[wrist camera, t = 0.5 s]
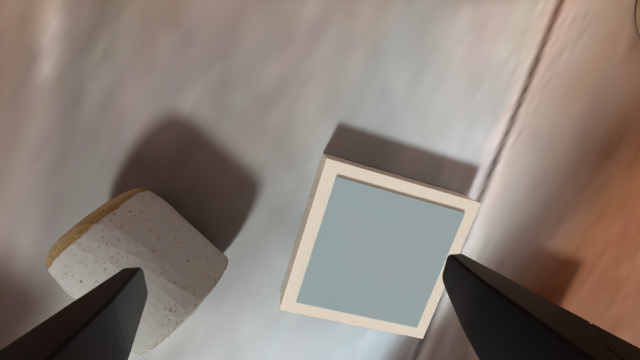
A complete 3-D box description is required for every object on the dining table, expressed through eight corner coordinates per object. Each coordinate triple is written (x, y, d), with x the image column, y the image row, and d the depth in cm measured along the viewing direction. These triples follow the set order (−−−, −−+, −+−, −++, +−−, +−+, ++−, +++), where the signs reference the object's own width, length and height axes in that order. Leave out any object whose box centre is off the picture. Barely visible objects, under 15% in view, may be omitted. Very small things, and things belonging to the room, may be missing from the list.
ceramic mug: (158, 169, 22) (88, 201, 15) (239, 243, 24) (214, 305, 17) (63, 260, 23) (-46, 334, 16) (147, 325, 25) (85, 417, 18)
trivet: (410, 318, 27) (423, 340, 25) (280, 290, 25) (279, 311, 23) (462, 193, 25) (482, 204, 22) (322, 153, 23) (327, 158, 20)
